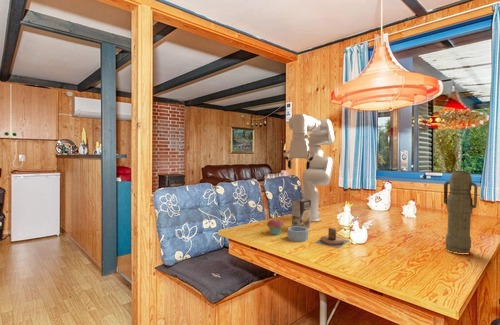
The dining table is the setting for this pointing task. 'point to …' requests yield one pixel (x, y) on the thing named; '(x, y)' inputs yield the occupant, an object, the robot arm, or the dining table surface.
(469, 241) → the thermos
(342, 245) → the mat
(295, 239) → the bowl
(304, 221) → the coffee box
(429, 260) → the dining table surface
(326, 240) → the lid
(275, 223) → the cupcake
